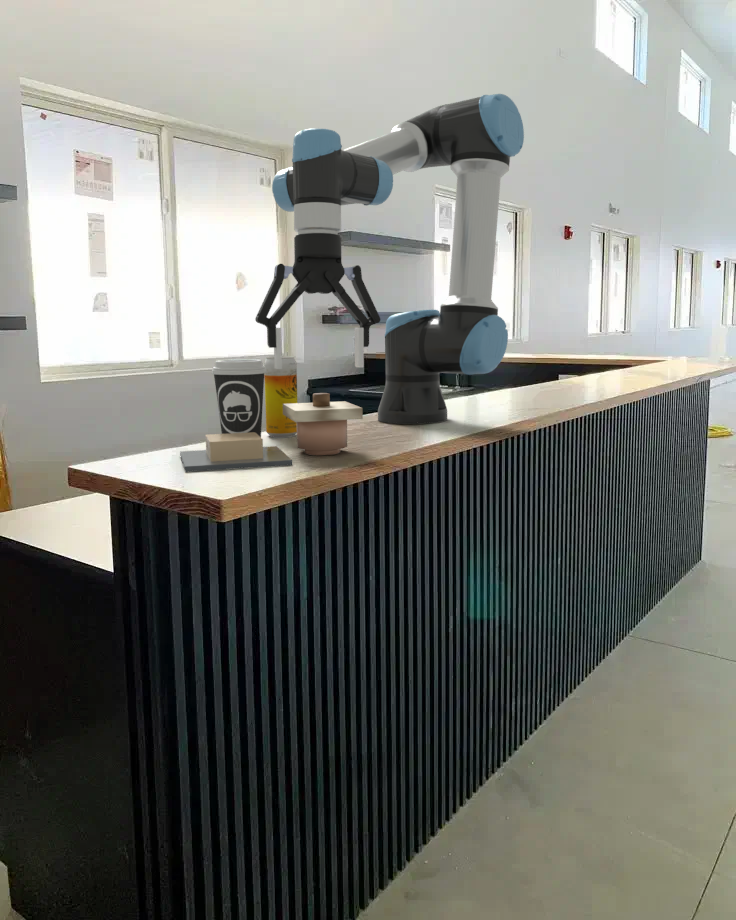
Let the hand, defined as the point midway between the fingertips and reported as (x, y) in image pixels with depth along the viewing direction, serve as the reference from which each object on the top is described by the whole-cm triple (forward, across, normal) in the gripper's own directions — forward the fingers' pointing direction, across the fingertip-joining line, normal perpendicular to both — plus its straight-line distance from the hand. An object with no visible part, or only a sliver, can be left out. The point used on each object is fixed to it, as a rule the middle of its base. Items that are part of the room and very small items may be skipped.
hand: (319, 368), depth 129 cm
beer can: (+14, +3, -21) cm, 26 cm away
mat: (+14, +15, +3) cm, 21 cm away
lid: (+8, 0, 0) cm, 8 cm away
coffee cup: (+14, +12, -11) cm, 22 cm away
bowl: (+14, 0, 0) cm, 14 cm away
